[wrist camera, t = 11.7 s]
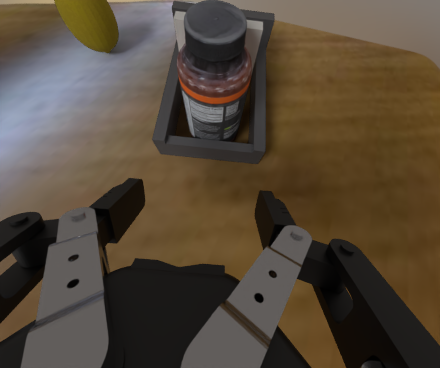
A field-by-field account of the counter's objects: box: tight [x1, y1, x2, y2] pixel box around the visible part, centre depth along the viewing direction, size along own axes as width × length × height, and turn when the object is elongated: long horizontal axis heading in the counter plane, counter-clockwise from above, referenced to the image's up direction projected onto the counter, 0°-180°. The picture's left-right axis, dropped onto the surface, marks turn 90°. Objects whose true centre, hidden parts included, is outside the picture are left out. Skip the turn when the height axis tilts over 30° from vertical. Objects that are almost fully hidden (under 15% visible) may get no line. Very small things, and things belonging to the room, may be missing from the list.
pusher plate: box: [174, 11, 263, 75], centre depth 19 cm, size 7×11×9 cm, turn 175°
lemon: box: [54, 0, 119, 53], centre depth 20 cm, size 6×6×8 cm
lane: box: [152, 1, 274, 164], centre depth 20 cm, size 11×16×6 cm
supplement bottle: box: [177, 0, 252, 142], centre depth 16 cm, size 6×6×11 cm
